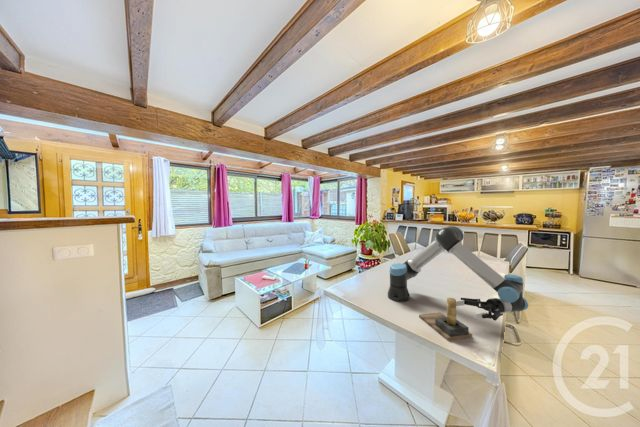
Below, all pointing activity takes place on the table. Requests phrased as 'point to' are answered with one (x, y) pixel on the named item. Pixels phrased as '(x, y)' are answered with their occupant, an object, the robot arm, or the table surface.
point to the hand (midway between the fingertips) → (463, 309)
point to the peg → (451, 311)
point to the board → (432, 324)
